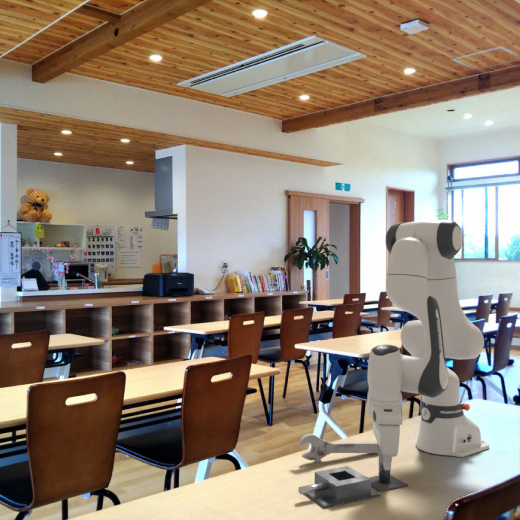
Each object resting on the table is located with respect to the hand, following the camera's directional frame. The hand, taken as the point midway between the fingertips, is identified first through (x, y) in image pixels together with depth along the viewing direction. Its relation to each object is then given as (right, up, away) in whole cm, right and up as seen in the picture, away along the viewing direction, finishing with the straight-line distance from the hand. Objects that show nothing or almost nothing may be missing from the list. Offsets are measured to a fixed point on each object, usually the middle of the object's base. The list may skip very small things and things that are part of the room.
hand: (384, 462), depth 150 cm
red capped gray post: (0, -5, 0) cm, 5 cm away
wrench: (-7, -6, +19) cm, 21 cm away
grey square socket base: (-14, -5, -7) cm, 16 cm away
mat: (0, -6, 0) cm, 6 cm away
